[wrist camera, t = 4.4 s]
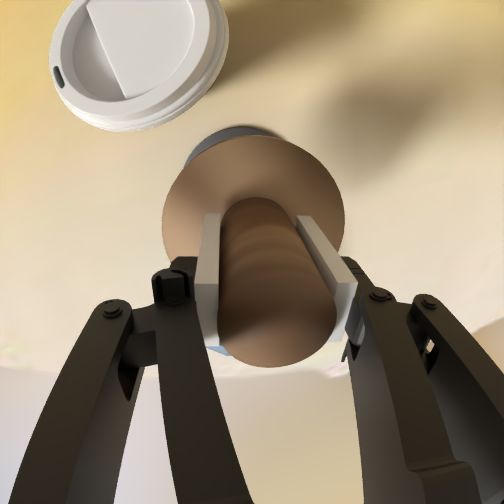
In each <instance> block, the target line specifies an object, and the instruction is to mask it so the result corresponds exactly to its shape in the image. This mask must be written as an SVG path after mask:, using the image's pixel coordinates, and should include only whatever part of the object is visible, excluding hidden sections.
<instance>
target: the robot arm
mask: <svg viewBox="0 0 504 504" xmlns="http://www.w3.org/2000/svg"><path fill="white" fill-rule="evenodd" d="M295 229H296V231H297V232H298V234H299V236H300V238H301V240H302V241H303V243H304V245H305V247H306V249H307V250H308V252H309V254H310V256H311V258H312V260H313V262H314V263H315V265H316V267H317V269H318V271H319V273H320V275H321V276H322V278H323V280H324V282H325V284H326V286H327V288H328V290H329V292H330V294H331V295H332V297H333V299H334V301H335V305H336V309H337V321H336V325H335V328H334V331H333V333H332V335H331V336H330V338H329V339H328V341H327V342H339V341H342V338H343V335H344V331H346V333H347V335H348V341H347V344H346V347H345V350H344V353H343V356H342V360H341V362H344V360H345V358H346V356H347V358H348V364H349V370H350V376H351V383H352V389H353V396H354V404H355V411H356V419H357V428H358V436H359V446H360V455H361V465H362V478H363V491H364V504H504V374H503V373H502V371H501V370H500V369H499V368H498V366H497V365H496V364H495V363H494V361H493V360H492V359H491V358H490V357H489V355H488V354H487V353H486V352H485V351H484V349H483V348H482V347H481V346H480V345H479V344H478V342H477V341H476V340H475V339H474V338H473V337H472V335H471V334H470V333H469V332H468V331H467V330H466V329H465V327H464V326H463V325H462V324H461V323H460V322H459V321H458V320H457V319H456V317H455V316H454V315H453V314H452V313H451V312H450V311H449V310H448V309H447V308H446V307H445V306H444V305H443V304H442V302H440V301H439V300H438V299H437V298H435V297H433V296H432V295H428V294H419V295H416V296H415V297H414V299H413V302H412V304H407V303H400V302H397V301H396V299H395V297H394V296H393V294H392V293H390V292H389V291H388V290H385V289H383V288H380V287H375V286H374V285H373V283H372V282H371V281H370V279H369V278H368V277H367V275H366V274H365V273H364V271H363V270H362V269H361V267H360V266H359V265H358V263H357V262H356V261H354V260H353V259H351V258H350V257H340V256H339V254H338V253H337V251H336V250H335V249H334V247H333V246H332V244H331V243H330V242H329V240H328V239H327V238H326V236H325V235H324V233H323V232H322V231H321V229H320V228H319V227H318V225H317V224H316V223H315V221H314V220H313V219H312V217H311V216H299V215H297V217H296V225H295ZM219 246H220V214H205V218H204V223H203V229H202V236H201V242H200V248H199V254H198V256H178V257H176V258H175V259H174V260H173V261H172V262H171V265H170V268H167V269H163V270H161V271H158V272H157V273H155V274H154V275H153V277H152V279H151V281H152V289H153V296H154V304H152V305H150V306H147V307H143V308H138V309H132V307H131V306H130V304H129V303H128V302H126V301H124V300H120V299H112V300H107V301H104V302H103V303H101V304H99V305H98V306H97V307H96V308H95V309H94V311H93V313H92V314H91V316H90V318H89V319H88V321H87V323H86V325H85V327H84V328H83V330H82V332H81V334H80V336H79V337H78V339H77V341H76V343H75V345H74V347H73V349H72V350H71V352H70V354H69V356H68V358H67V360H66V362H65V364H64V366H63V368H62V370H61V372H60V374H59V376H58V378H57V380H56V382H55V384H54V386H53V389H52V391H51V393H50V395H49V397H48V399H47V401H46V404H45V406H44V408H43V411H42V413H41V415H40V417H39V420H38V422H37V424H36V427H35V429H34V431H33V434H32V436H31V439H30V441H29V444H28V447H27V449H26V452H25V454H24V457H23V460H22V463H21V466H20V468H19V471H18V474H17V477H16V480H15V483H14V487H13V490H12V493H11V496H10V500H9V503H8V504H113V503H114V498H115V492H116V487H117V482H118V477H119V471H120V467H121V462H122V457H123V453H124V448H125V444H126V439H127V435H128V431H129V427H130V422H131V419H132V414H133V410H134V407H135V402H136V399H137V395H138V391H139V387H140V384H141V380H142V376H143V373H144V369H145V366H150V365H156V364H158V372H159V383H160V392H161V402H162V410H163V418H164V425H165V433H166V440H167V447H168V453H169V459H170V465H171V470H172V476H173V481H174V486H175V491H176V496H177V501H178V504H254V503H253V501H252V499H251V496H250V494H249V491H248V488H247V485H246V482H245V479H244V476H243V473H242V471H241V467H240V464H239V461H238V458H237V455H236V452H235V449H234V446H233V443H232V439H231V436H230V433H229V430H228V426H227V423H226V420H225V416H224V413H223V409H222V407H221V403H220V399H219V395H218V392H217V388H216V385H215V381H214V377H213V374H212V370H211V366H210V362H209V358H208V354H207V350H206V346H219V337H218V332H217V313H218V303H219ZM430 339H431V340H432V342H433V343H434V344H435V345H434V347H433V349H432V351H431V352H429V351H428V350H427V349H426V347H427V345H428V343H429V341H430ZM327 342H326V343H327Z"/></svg>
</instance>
